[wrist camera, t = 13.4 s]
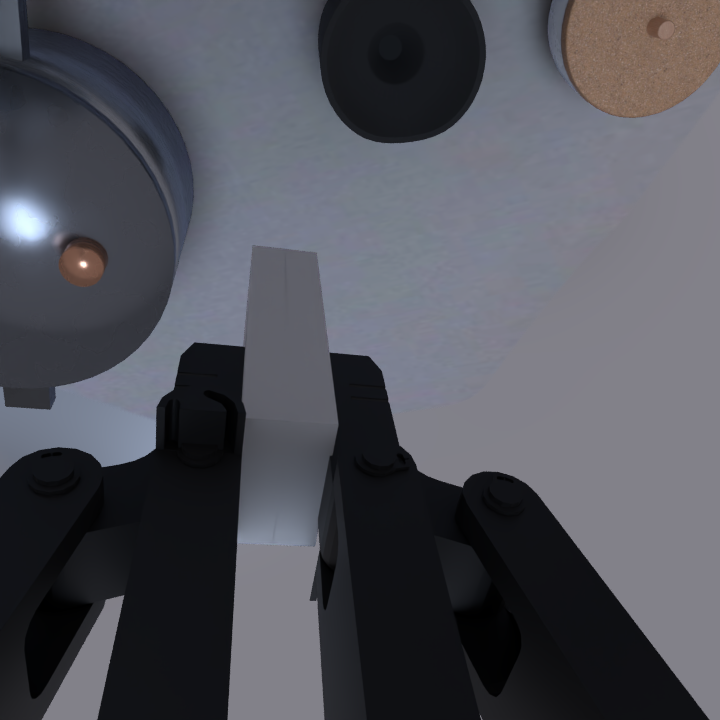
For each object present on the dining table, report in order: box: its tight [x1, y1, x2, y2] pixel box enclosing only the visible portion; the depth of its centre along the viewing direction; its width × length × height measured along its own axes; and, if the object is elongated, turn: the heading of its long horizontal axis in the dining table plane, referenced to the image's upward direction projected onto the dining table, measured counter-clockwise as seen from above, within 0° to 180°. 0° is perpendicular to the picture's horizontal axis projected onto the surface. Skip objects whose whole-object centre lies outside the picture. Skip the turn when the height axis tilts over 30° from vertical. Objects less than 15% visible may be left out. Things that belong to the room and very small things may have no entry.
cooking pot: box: [0, 0, 194, 410], centre depth 46 cm, size 27×20×11 cm
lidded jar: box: [548, 0, 720, 118], centre depth 44 cm, size 11×11×9 cm
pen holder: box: [318, 0, 486, 143], centre depth 43 cm, size 9×9×10 cm
